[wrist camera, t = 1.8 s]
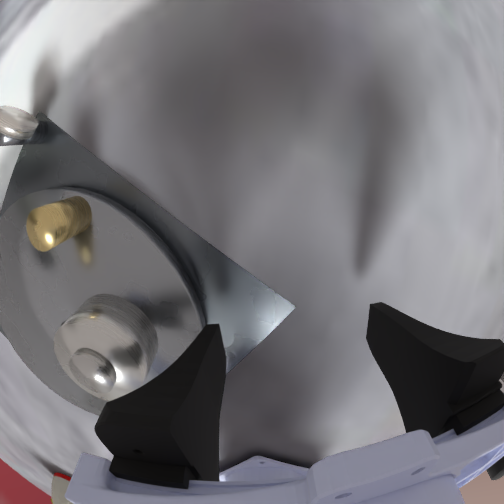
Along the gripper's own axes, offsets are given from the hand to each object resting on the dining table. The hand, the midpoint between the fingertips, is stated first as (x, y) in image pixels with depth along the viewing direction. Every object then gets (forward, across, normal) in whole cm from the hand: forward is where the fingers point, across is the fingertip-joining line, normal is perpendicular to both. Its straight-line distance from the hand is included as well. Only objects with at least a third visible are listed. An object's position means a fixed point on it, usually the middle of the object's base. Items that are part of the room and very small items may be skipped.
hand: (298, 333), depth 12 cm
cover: (+1, +10, 0) cm, 10 cm away
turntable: (+3, +13, 0) cm, 14 cm away
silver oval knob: (+3, +13, -12) cm, 18 cm away
